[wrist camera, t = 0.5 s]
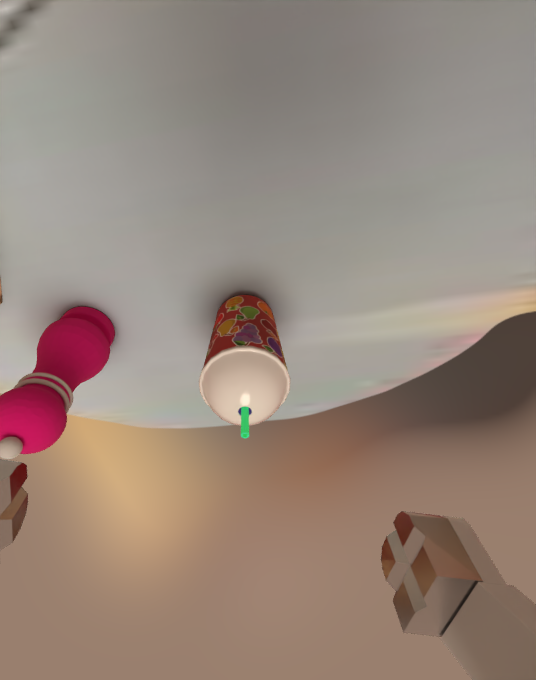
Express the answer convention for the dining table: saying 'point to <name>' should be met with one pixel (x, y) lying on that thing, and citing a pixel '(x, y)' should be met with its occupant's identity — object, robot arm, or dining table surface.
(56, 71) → the dining table surface
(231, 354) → the smoothie
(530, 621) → the robot arm
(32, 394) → the pepper mill
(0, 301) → the counter cubby
